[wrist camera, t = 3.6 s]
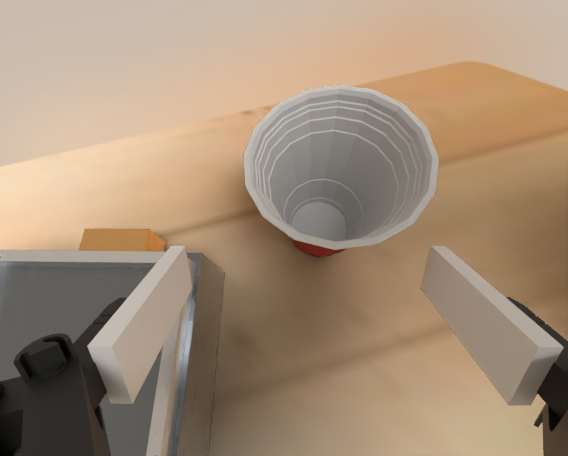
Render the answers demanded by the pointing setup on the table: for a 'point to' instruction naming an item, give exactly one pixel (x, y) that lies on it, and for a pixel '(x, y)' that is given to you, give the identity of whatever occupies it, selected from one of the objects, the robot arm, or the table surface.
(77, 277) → the square tray with tab
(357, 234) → the plastic cup
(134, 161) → the table surface
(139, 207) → the table surface
